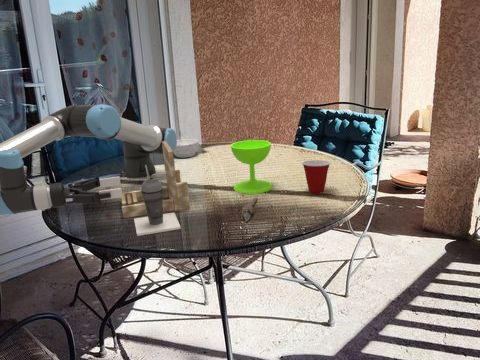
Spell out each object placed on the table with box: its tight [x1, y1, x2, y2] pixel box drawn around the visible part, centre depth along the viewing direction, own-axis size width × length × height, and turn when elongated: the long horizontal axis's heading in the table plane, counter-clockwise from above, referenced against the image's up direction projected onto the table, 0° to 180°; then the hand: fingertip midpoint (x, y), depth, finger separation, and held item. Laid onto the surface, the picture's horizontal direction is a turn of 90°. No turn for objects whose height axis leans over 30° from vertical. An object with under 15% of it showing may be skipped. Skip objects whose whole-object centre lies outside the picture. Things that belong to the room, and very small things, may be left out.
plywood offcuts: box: [121, 191, 139, 206], centre depth 170 cm, size 5×12×4 cm, turn 16°
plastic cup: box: [301, 159, 332, 195], centre depth 175 cm, size 11×11×12 cm
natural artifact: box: [241, 197, 259, 222], centre depth 161 cm, size 4×23×4 cm
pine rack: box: [120, 141, 191, 219], centre depth 170 cm, size 24×20×22 cm
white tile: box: [133, 212, 182, 237], centre depth 154 cm, size 14×14×1 cm
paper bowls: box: [173, 138, 200, 159], centre depth 246 cm, size 15×15×8 cm
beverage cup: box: [141, 165, 164, 225], centre depth 151 cm, size 7×7×20 cm
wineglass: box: [230, 139, 274, 195], centre depth 184 cm, size 16×16×18 cm
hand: (121, 186), depth 147 cm, fingers open, 13 cm apart
